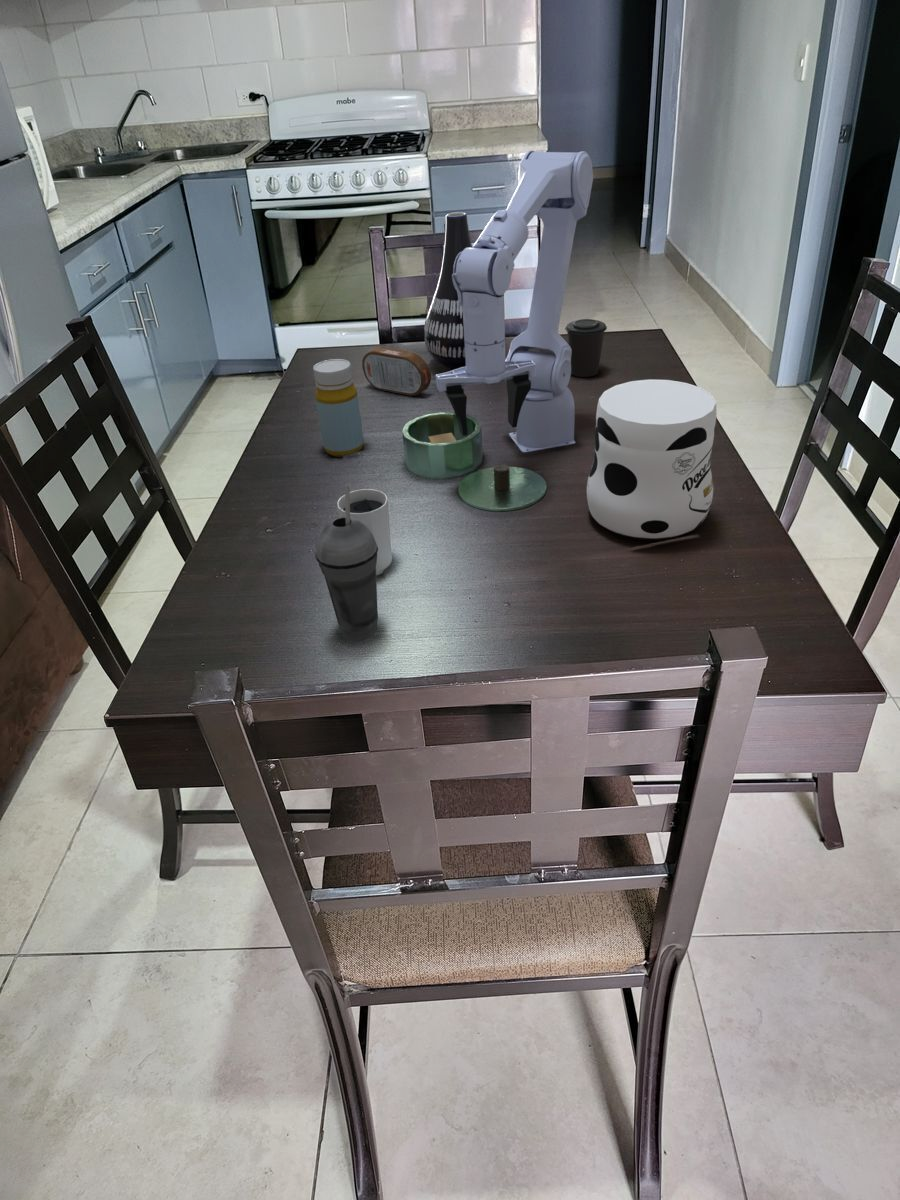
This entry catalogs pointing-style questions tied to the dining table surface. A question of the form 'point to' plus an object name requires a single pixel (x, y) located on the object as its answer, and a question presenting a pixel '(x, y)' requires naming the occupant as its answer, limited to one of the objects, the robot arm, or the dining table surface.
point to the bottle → (338, 407)
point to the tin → (396, 370)
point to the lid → (502, 488)
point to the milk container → (652, 459)
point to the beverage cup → (350, 573)
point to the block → (441, 438)
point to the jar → (442, 446)
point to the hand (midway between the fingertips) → (488, 428)
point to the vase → (448, 300)
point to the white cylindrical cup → (372, 520)
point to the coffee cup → (585, 346)
